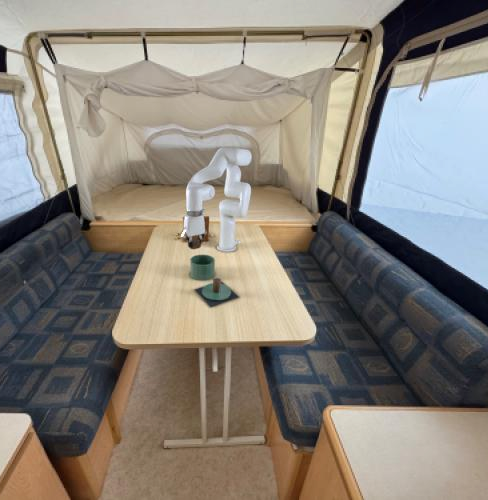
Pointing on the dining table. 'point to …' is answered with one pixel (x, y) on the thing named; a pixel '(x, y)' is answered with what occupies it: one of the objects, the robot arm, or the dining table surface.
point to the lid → (216, 290)
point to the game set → (205, 238)
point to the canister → (202, 267)
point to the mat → (216, 302)
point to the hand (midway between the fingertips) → (194, 246)
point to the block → (195, 243)
